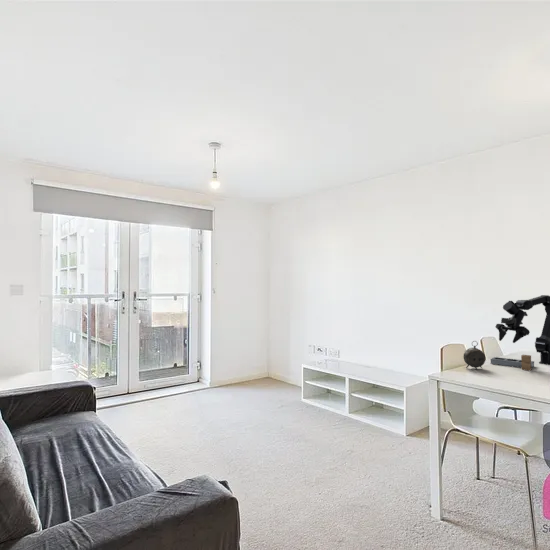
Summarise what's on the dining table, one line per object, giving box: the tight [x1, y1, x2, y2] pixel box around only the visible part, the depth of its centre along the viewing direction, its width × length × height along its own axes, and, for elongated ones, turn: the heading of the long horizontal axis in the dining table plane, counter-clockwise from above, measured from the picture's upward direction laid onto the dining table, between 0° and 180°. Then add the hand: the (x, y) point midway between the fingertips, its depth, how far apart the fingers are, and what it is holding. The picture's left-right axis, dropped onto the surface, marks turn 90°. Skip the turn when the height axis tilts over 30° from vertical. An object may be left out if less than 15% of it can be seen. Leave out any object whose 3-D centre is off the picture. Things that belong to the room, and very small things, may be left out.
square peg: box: [520, 354, 532, 371], centre depth 222 cm, size 4×4×8 cm
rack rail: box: [490, 356, 535, 369], centre depth 234 cm, size 21×9×3 cm, turn 46°
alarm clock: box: [463, 340, 487, 370], centre depth 224 cm, size 11×5×16 cm, turn 84°
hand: (506, 341), depth 230 cm, fingers open, 9 cm apart
